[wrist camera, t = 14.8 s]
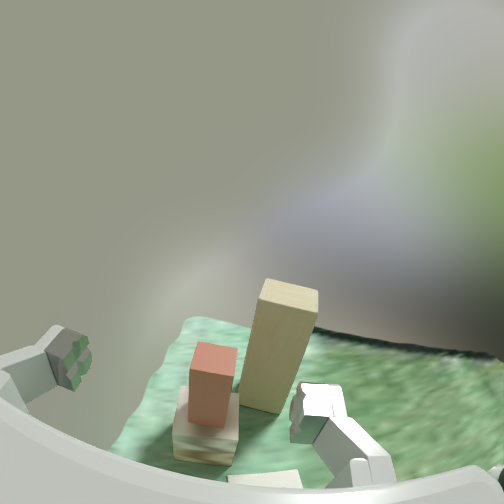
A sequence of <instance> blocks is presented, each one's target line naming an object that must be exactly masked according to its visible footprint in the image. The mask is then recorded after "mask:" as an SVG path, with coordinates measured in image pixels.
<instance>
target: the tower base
mask: <svg viewBox="0 0 504 504" xmlns="http://www.w3.org/2000/svg"><path fill="white" fill-rule="evenodd" d="M188 397H189V387H187V386H181V388H180V393H179V398H178V403H177V408H176V413H175V418H174V423H173V428H172V441H173V454H174V459H177V460H183V461H189V462H197V463H204V464H213V465H223V466H231V465H232V462H233V458H234V455H235V451H236V448H237V444H238V440H239V393H233V392H231V395H230V400H229V405H228V411H227V416H226V421H225V426H224V429H223V428H217V427H211V426H205V425H200V424H195V423H190V422H188Z"/></svg>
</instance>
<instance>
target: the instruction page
mask: <svg viewBox="0 0 504 504" xmlns="http://www.w3.org/2000/svg"><path fill="white" fill-rule="evenodd" d="M227 477H228V483H234V484H242V485H251V486H261V487H274V488H296V489H303V487H302V483H301V480H300V477H299V474H298V470H297V469H295V470H288V471H280V472H271V473H260V474H246V475H227Z"/></svg>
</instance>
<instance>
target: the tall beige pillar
mask: <svg viewBox="0 0 504 504" xmlns="http://www.w3.org/2000/svg"><path fill="white" fill-rule="evenodd" d="M317 315H318V291H317V290H314V289H310V288H306V287H302V286H298V285H293V284H289V283H285V282H281V281H277V280H273V279H268V278H267V279H266V280H265V282H264V285H263V288H262V290H261V293H260V296H259V299H258V302H257V307H256V311H255V316H254V320H253V325H252V329H251V334H250V338H249V343H248V347H247V352H246V356H245V361H244V365H243V370H242V374H241V379H240V383H239V387H238V392H237V393H239V405H243V406H247V407H250V408H254V409H258V410H262V411H267V412H271V413H275V414H280V413H281V411H282V409H283V407H284V404H285V402H286V399H287V397H288V394H289V392H290V389H291V387H292V384H293V382H294V379H295V377H296V374H297V372H298V369H299V366H300V363H301V361H302V358H303V355H304V353H305V350H306V347H307V345H308V342H309V339H310V336H311V333H312V330H313V328H314V325H315V322H316V319H317Z"/></svg>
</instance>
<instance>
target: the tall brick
mask: <svg viewBox="0 0 504 504" xmlns="http://www.w3.org/2000/svg"><path fill="white" fill-rule="evenodd" d="M237 350H238V348H232V347H226V346H220V345H215V344H209V343H204V342H199V341H198V343H197V346H196V349H195V353H194V356H193V359H192V362H191V366H190V372H189V397H188V422H190V423H195V424H200V425H205V426H211V427H217V428H223V429H224V426H225V421H226V416H227V411H228V405H229V400H230V395H231V390H232V384H233V379H234V372H235V365H236V357H237Z"/></svg>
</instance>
